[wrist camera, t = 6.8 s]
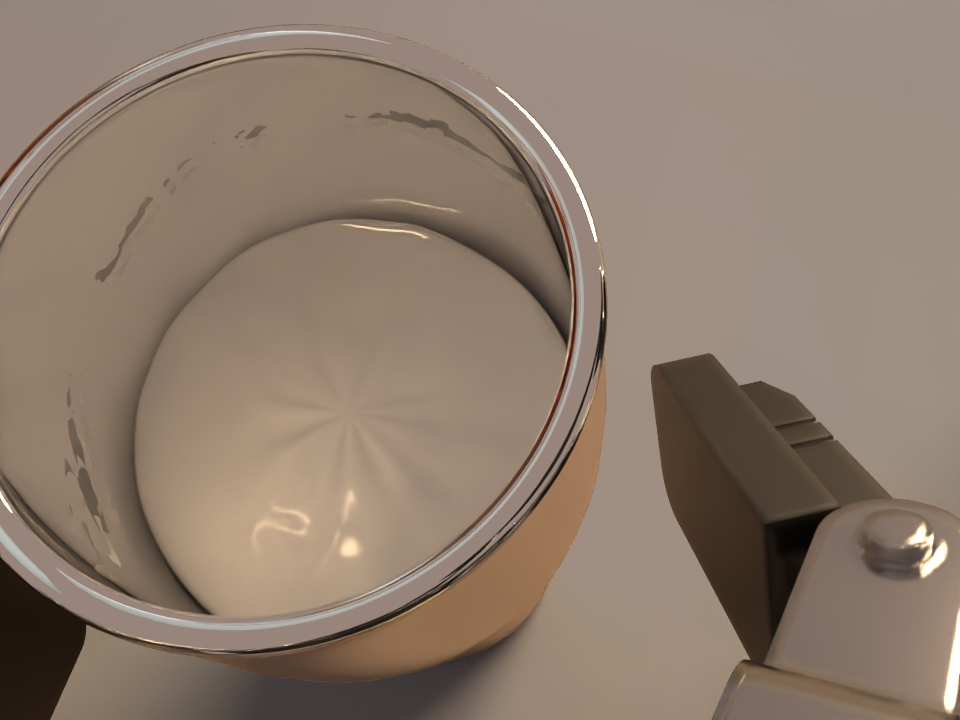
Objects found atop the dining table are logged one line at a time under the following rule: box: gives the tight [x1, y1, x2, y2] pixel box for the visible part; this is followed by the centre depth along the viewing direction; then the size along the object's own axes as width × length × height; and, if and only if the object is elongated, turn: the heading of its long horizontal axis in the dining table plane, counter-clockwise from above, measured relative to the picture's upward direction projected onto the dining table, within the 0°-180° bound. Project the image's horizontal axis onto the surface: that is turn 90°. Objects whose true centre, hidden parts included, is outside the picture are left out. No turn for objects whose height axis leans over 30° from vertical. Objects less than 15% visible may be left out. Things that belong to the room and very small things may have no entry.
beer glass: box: [0, 24, 608, 682], centre depth 15 cm, size 7×7×15 cm
